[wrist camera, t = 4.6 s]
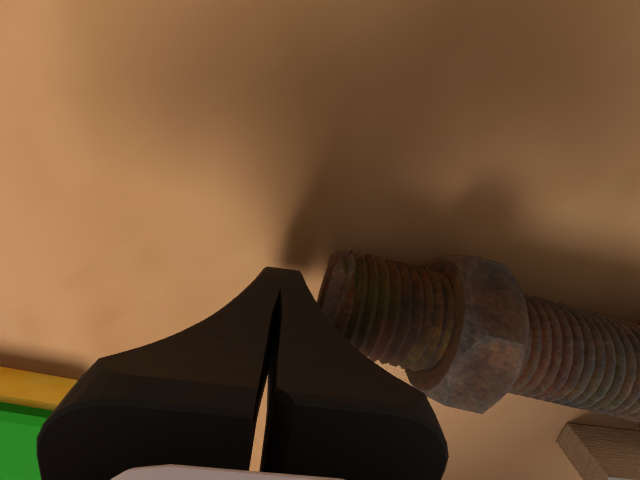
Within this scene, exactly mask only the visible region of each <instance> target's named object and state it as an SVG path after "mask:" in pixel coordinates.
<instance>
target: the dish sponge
mask: <svg viewBox="0 0 640 480" xmlns="http://www.w3.org/2000/svg"><path fill="white" fill-rule="evenodd" d="M77 381H78V380H75V379H69V378H64V377H58V376H52V375H46V374H41V373H35V372H29V371H23V370H17V369H12V368H6V367H0V480H41V476H40V470H39V465H38V460H37V454H36V445H37V436H38V434H39V432H40V430H41V428H42V425H43V423H44V422H45V421H46V420H47V418H48V417H49V416H50V415H51V413H52V412H53V411H54V410H55V408H56V407H57V406H58V404H59V403H60V402H61V401H62V399H63V398H64V397H65V396H66V394H67V393H68V392H69V391H70V389H71V388H72V387H73V386H74V385H75V383H76V382H77Z"/></svg>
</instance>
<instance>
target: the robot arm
mask: <svg viewBox="0 0 640 480" xmlns="http://www.w3.org/2000/svg"><path fill="white" fill-rule="evenodd" d="M267 376H268V392H267V414H266V426H265V433H264V441H263V448H262V456H261V464H260V471H259V472H256V471H249V467H250V460H251V454H252V447H253V441H254V434H255V428H256V422H257V417H258V412H259V407H260V403H261V399H262V395H263V392H264V388H265V384H266V380H267ZM36 454H37V460H38V465H39V470H40V476H41V480H441V478H442V476H443V474H444V472H445V469H446V465H447V461H448V457H449V456H448V448H447V442H446V440H445V437H444V435H443V432H442V429H441V427H440V424H439V422H438V420H437V417H436V415H435V413H434V411H433V409H432V407H431V405H430V403H429V402H428V400H427V397H426V395H425V393H423V392H421V391H420V390H418V389H416V388H414V387H413V386H411V385H409V384H407V383H405V382H404V381H402V380H400V379H398V378H397V377H395V376H393V375H392V374H390V373H389V372H387V371H386V370H384V369H383V368H381V367H380V366H378V365H377V364H375V363H374V362H373V361H371V360H370V359H369V358H367V357H366V356H365V355H364V354H362V353H361V352H360V351H359V350H358V349H357V348H355V347H354V346H353V345H352V344H351V343H350V342H349V341H348V340H346V339H345V338H344V337H343V336H342V335H341V333H340V332H339V331H338V330H337V329H336V328H335V327H334V326H333V325H332V324H331V322H330V321H329V320H328V319H327V317H326V316H325V314H324V313H323V312H322V310H321V309H320V307H319V306H318V304H317V302H316V301H315V299H314V298H313V296H312V294H311V292H310V291H309V289H308V287H307V285H306V283H305V280H304V278H303V275H302V274H301V272H300V271H296V270H289V269H281V268H274V267H266V268H264V269H263V270H262V271H261V273H260V274H259V275H258V276H257V277H256V279H255V280H254V281H253V282H252V283H251V284H250V285H249V286H248V287H247V288H246V289H245V290H243V291H242V292H241V293H240V294H239V295H238V296H237V297H236V298H234V299H233V300H232V301H231V302H229V303H228V304H227V305H226V306H224V307H223V308H222V309H220V310H219V311H217V312H216V313H215V314H213V315H211V316H210V317H208V318H207V319H205V320H203V321H201V322H199V323H197V324H195V325H193V326H191V327H189V328H187V329H185V330H183V331H181V332H179V333H177V334H174V335H172V336H170V337H167V338H165V339H162V340H159V341H157V342H154V343H151V344H148V345H145V346H142V347H139V348H135V349H132V350H128V351H125V352H121V353H118V354H114V355H110V356H106V357H102V358H99V359H98V360H97V361H96V362H95V363H94V364H93V365H92V366H91V367H90V368H89V369H88V370H87V371H86V372H85V373H84V374H83V375H82V377H81V378H80V379H79V380H78V381H77V382H76V383H75V385H74V386H73V387H72V388H71V389H70V391H69V392H68V393H67V394H66V396H65V397H64V398H63V399H62V401H61V402H60V403H59V404H58V406H57V407H56V408H55V410H54V411H53V412H52V413H51V415H50V416H49V417H48V418H47V420H46V421H45V422H44V423H43V425H42V428H41V430H40V432H39V434H38V436H37V445H36Z"/></svg>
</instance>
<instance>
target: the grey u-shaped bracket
mask: <svg viewBox="0 0 640 480" xmlns="http://www.w3.org/2000/svg"><path fill="white" fill-rule="evenodd" d="M556 442H557V443H558V445H559V446H560V448H561V449H562V450H563V452H564V453H565V455H566V456H567V458H568V459H569V460H570V462H571V463H572V465H573V466H574V468H575V469H576V470H577V472H578V473H579V475H580V476H581V477H582V479H583V480H640V431H634V430H625V429H615V428H606V427H597V426H588V425H578V424H569V423H567V424H566V426H565V428H564V430H563V431H562V433H561V435H560V436H559V438H558V440H557V441H556Z"/></svg>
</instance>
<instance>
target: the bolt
mask: <svg viewBox="0 0 640 480" xmlns="http://www.w3.org/2000/svg"><path fill="white" fill-rule="evenodd" d="M317 304H318V306H319V307H320V309H321V310H322V312H323V313H324V314H325V316H326V317H327V319H328V320H329V321H330V322H331V324H332V325H333V326H334V327H335V328H336V329H337V330H338V331H339V332H340V333H341V335H342V336H343V337H344V338H345V339H346V340H348V341H349V342H350V343H351V344H352V345H353V346H354V347H355V348H357V349H358V350H359V351H360V352H361V353H362V354H364V355H365V356H366V357H369V359H370V360H371V361H373V362H375V361H376V360H379V361H380V362H381V363H382V364H385V363H389V364H390V365H392V366H395V367H396V366H398V365H400V367H401V368H402V369H405V372H406V374H407V376H408V379H409V381H410V383H411V384H412V386H413V387H414V388H416V389H418V390H420V391H421V392H423V393H425V395H426V396H427V397H429V398H431V399H433V400H435V401H437V402H439V403H441V404H443V405H445V406H448V407H453V408H458V409H462V410H467V411H471V412H476V413H480V414H483V413H484V412H485V411H487V410H488V409H489V408H490V407H492V406H493V405H494V404H495V403H497V402H498V401H499V400H500V399H501V398H502V397H503V396H504V395H505V394H506V393H507V392H509V393H512V394H516V395H521V396H525V397H531V398H534V399H538V400H539V399H540V400H543V401H547V402H552V403H556V404H561V405H564V406H569V407H573V408H578V409H586V410H589V411H593V412H597V413H601V414H605V415H607V416H613V417H615V418H621V419H624V420H629V421H632V422H638V423H639V426H640V324H637V323H633V322H628V321H625V320H622V319H617V318H613V317H610V316H606V315H602V314H598V313H595V312H591V311H587V310H583V309H579V308H575V307H570V306H567V305H564V304H560V303H555V302H552V301H548V300H543V299H539V298H536V297H532V296H528V295H526V294H523V293H522V291H521V289H520V287H519V285H518V283H517V281H516V280H515V278H514V276H513V275H512V273H511V271H510V270H509V268H508V266H507V265H505V264H501V263H497V262H493V261H490V260H486V259H482V258H478V257H474V256H443V257H439V258H437V259H435V260H433V261H432V262H431V263H430V264H429V265H428V266H426V268H425V269H424V270H423V269H422V268H420V267H415V268H414V267H413V266H412V265H408V264H407V265H404V264H403V263H401V262H395V263H394V262H393V261H392V260H385V261H384V260H383V259H382V258H381V257H375V258H374V259H373V257H372V256H371V255H368V254H366V255H365V256H363V254H362V253H361V252H360V251H358V252H356V253H355V254H353V252H352V251H351V249H347V250H345V251H344V252H343V253H341V252H339V251H338V252H335V253H334V254H332V255H331V256H330V258H329V261H328V266H327V269H326V272H325V275H324V278H323V281H322V284H321V288H320V291H319V295H318V299H317Z"/></svg>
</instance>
